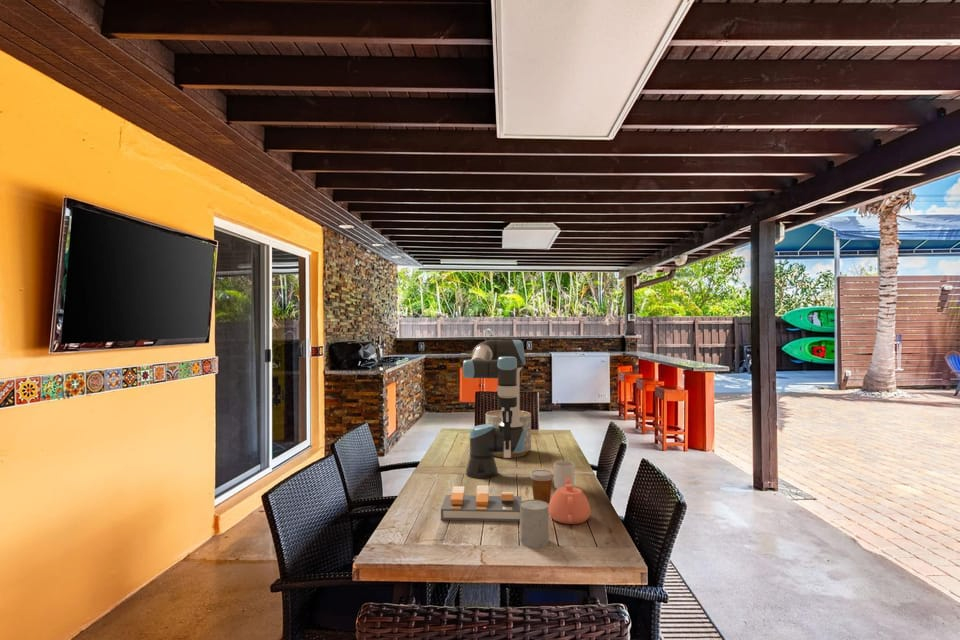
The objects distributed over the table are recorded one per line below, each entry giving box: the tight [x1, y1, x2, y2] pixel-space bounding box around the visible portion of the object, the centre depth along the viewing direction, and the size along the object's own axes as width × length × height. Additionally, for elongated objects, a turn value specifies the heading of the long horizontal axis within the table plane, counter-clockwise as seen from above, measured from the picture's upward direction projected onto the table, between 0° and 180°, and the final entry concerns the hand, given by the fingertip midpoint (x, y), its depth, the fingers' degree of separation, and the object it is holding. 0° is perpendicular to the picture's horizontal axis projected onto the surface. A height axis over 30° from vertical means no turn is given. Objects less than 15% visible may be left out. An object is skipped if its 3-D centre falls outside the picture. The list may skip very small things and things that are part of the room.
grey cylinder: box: [519, 499, 550, 549], centre depth 174 cm, size 10×10×12 cm
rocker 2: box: [475, 484, 490, 506], centre depth 200 cm, size 10×4×2 cm, turn 177°
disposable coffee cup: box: [529, 469, 554, 504], centre depth 212 cm, size 10×10×12 cm
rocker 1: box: [450, 485, 466, 505], centre depth 200 cm, size 10×4×2 cm, turn 177°
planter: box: [485, 409, 532, 458], centre depth 294 cm, size 26×26×22 cm
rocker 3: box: [500, 491, 515, 501], centre depth 199 cm, size 10×4×2 cm, turn 177°
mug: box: [553, 460, 576, 490], centre depth 231 cm, size 12×9×11 cm
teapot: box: [548, 477, 592, 525], centre depth 195 cm, size 22×16×12 cm
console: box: [440, 494, 523, 523], centre depth 200 cm, size 16×30×5 cm, turn 87°
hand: (507, 457), depth 203 cm, fingers closed
